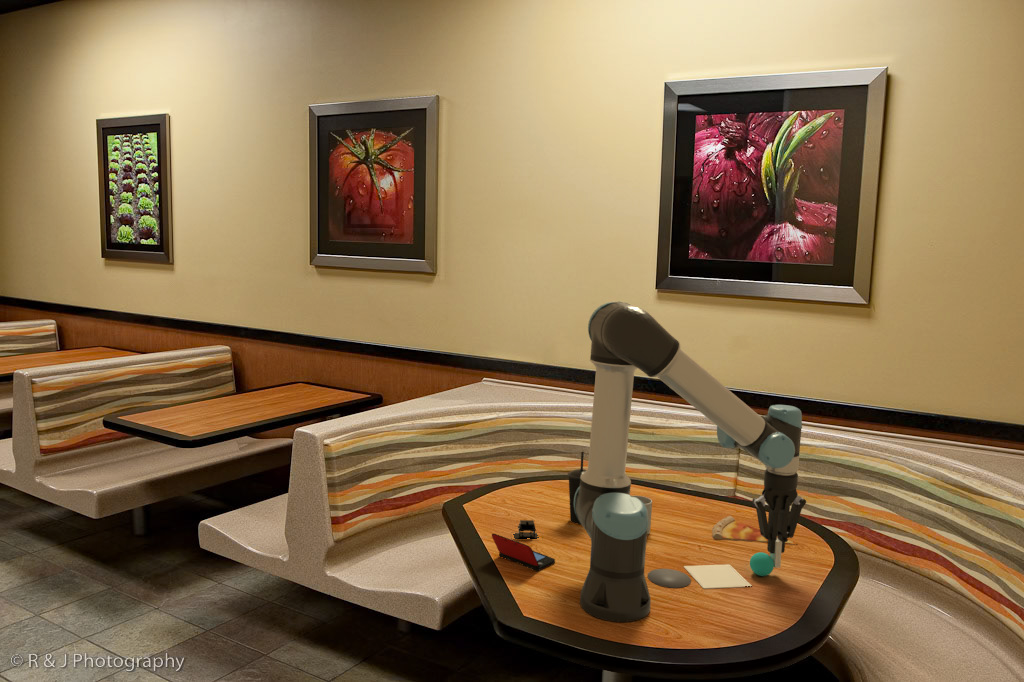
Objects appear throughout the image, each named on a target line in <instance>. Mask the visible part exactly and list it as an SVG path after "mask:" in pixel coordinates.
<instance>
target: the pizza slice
mask: <svg viewBox="0 0 1024 682" xmlns="http://www.w3.org/2000/svg"><path fill="white" fill-rule="evenodd" d="M711 533H712V534H711V536H712V537H711V538H712V539H714V540H724V539H726V540H727V539H728V540H727V541H738V540H745V541H744V542H752V541H760V542H759V543H766V542H768V539H766V538H764V537H763V536H762V535H761V534H760V528H757V527H756V528H755V527H754V526H751V525H747V524H745V523H742V522H739V521H736V519H735V517H733V516H731V515H728V516H726V517H724V518H722V519H720V520H719V521H718V522H716V523H715V524H714V525H713V527H712V530H711ZM777 538H778V537H777ZM793 542H794V541H793V540H789V539H788V541H787V542H785V543H793Z"/></svg>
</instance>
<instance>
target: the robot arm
mask: <svg viewBox="0 0 1024 682" xmlns="http://www.w3.org/2000/svg"><path fill="white" fill-rule="evenodd" d="M587 331H588V336H589V339H590V341H591V344H590V345H591V347H590V359H589V361H590V362H591V363H592V364H593V366H594V367H595V379H594V380H595V381H594V392H593V400H592V402H593V403H592V414H591V426H590V438H589V448H588V449H589V450H588V452H589V453H588V461H587V462H588V463H587V468H586V469H585V470H586V471H585V472H584V473H583V474H581V477H580V486H579V487H578V489H577V491H576V493H575V496H574V510H575V514H576V516H577V518H578V520H579V522H580V523H581V524H580V525H581V526H582V528H583V529H584V531H585V532H586V533H587V535H588V537H589V538H590V541H591V542H590V559H589V560H590V563H589V570H588V571H587V575H586V577H585V580H584V582H583V585H582V587H581V590H580V598H579V604H580V606H581V608H582V610H584V611H585V613H587V614H588V615H591V616H593V617H595V618H598V619H601V620H604V621H610V622H616V623H626V622H628V623H629V622H634V621H638V620H642V619H644V618H645V617H646V616H648V615H649V613H650V611H651V604H652V603H651V602H652V600H651V594H650V590H649V587H648V584H647V580H646V576H645V566H646V550H647V537H648V535H647V528H648V513H647V508H646V506H645V504H644V503H643V502H642V501H641V500H639V499H638V498H636V497H632V496H633V495H631V486H632V481H631V478H630V477H629V476H628V475H627V474H626V468H627V467H626V465H627V458H628V457H627V456H628V455H627V454H628V445H629V433H630V421H631V411H632V401H633V400H632V399H633V398H632V397H633V389H634V381H635V380H634V377H635V371H636V370H637V369H638V370H640V371H641V372H643V373H644V374H645V375H646V376H648V377H649V378H656V377H657V378H658V379H659V380H660V381H661V382H663V383H664V384H665V385H666V386H667V387H669V389H671V390H672V391H674V392H675V393H676V394H677V395H679V397H681V398H682V399H683V400H684V401H686V402H687V403H688V404H689V405H691V407H693V408H695V409H696V410H697V411H698V412H700V413H701V414H702V415H703V416H705V417H706V418H707V419H708V420H710V421H711V423H713V424H715V426H716V436H717V441H718V443H719V445H720V446H721V447H723V448H724V449H732V450H734V449H741V450H742V451H744V452H745V453H747V454H749V455H751V456H752V457H753V458H755V459H757V460H758V461H760V462H761V463H762V464H763V465H764V468H765V470H764V474H763V486H764V487H763V490H762V492H761V495H760V496H759V497H758V498H756V497H754V498H752V503H753V505H754V507H755V510H756V516H757V522H758V527H759V528H758V529H759V530H760V534H761V535H762V536H763V537H764V538H766V539H768V543H767V552H769V556H770V557H771V558H772V560H773V563H774V568H775V569H777V568H781V565H782V564H781V563H782V554H783V553H785V546H786V544H785V542H787V541H788V540H789V539H792V538H794V535H795V532H796V529H797V526H798V523H799V519H800V516H801V513H802V509H803V508H804V506H805V505H806V503H807V499H804V498H803V497H802V496H800V495H798V491H797V489H798V482H799V481H798V479H799V474H798V472H799V471H800V469H799V468H800V467H799V465H800V451H801V450H800V449H801V439H802V438H801V437H802V429H803V416H802V411H801V409H800V408H798V407H796V406H793V405H786V404H772V405H770V406H769V408H768V411H767V414H763V415H761V414H758V413H757V412H756V411H755V410H754V409H752V408H751V407H750V406H749V405H748V404H746V402H744V401H743V400H741V398H739V397H738V396H737V395H736V394H735V393H733V392H732V391H731V390H730V389H728V387H726V386H725V385H724V384H723V383H721V381H719V380H718V379H716V378H715V377H714V376H713V375H712V374H711V373H709V372H708V371H707V370H705V368H703V367H702V366H701V365H700V364H698V363H697V362H696V361H695V360H694V359H693V358H691V357H690V356H689V355H688V354H687V353H685V352H684V351H683V350H682V349H681V342H679V340H678V339H676V338H675V337H674V336H673V335H672V334H670V333H669V331H668V330H666V329H665V328H664V327H663V326H662V325H661V324H660V323H659V322H658V321H657V320H656V319H655V317H653V316H652V315H651V314H650V313H649V312H648V311H646V310H645V309H643V308H641V307H638V306H634V305H631V304H629V302H622V301H610V302H609V301H608V302H606V303H604V304H601V305H600V306H598V307H597V308H596V309H595V310H594V311H593V312H592V314H591V315H590V317H589V320H588V325H587ZM766 504H767V510H766V508H765V507H766ZM766 511H768V516H767V512H766ZM777 537H778V538H777Z"/></svg>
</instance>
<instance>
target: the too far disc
mask: <svg viewBox="0 0 1024 682" xmlns="http://www.w3.org/2000/svg"><path fill="white" fill-rule="evenodd" d="M647 578H648V580H649V582H651V583H653V584H655V585H657V586H659V587H663V588H671V589H680V588H685V587H688V586H689V585H690V584H691V582H692V580H691V579H692V578H691V577H690V576H689V575H688V574H686V573H685V572H683V571H680V570H677V569H671V568H657V569H652V570H650V571H649V572H647Z"/></svg>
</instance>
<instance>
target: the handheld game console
mask: <svg viewBox="0 0 1024 682" xmlns="http://www.w3.org/2000/svg"><path fill="white" fill-rule="evenodd" d="M491 538H492V539H493V541H494V544H495V546H496V548H497V550H498V554H499V555H498V556H500V558H501V557H503V558H502V559H504V558H506V559H505V560H507V559H508V560H507V561H509V560H510V561H509V562H512V561H513V563H517V562H518V563H517V564H520V563H521V564H523V565H522V566H523V567H525V568H527V567H528V568H527V569H530V570H532V569H533V571H535V572H539V571H541V570H544V569H546V568H548V567H550V566H551V565H554V564H555V563H556V559H555V558H553V557H551V556H549V555H546V554H542V553H540V552H538V551H535V550H533V549H532V547H531V546H529V545H528V544H525V543H521V542H519V541H518V540H512V538H507V537H505V536H502V535H499V534H496V533H491ZM521 564H520V565H521Z"/></svg>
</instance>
